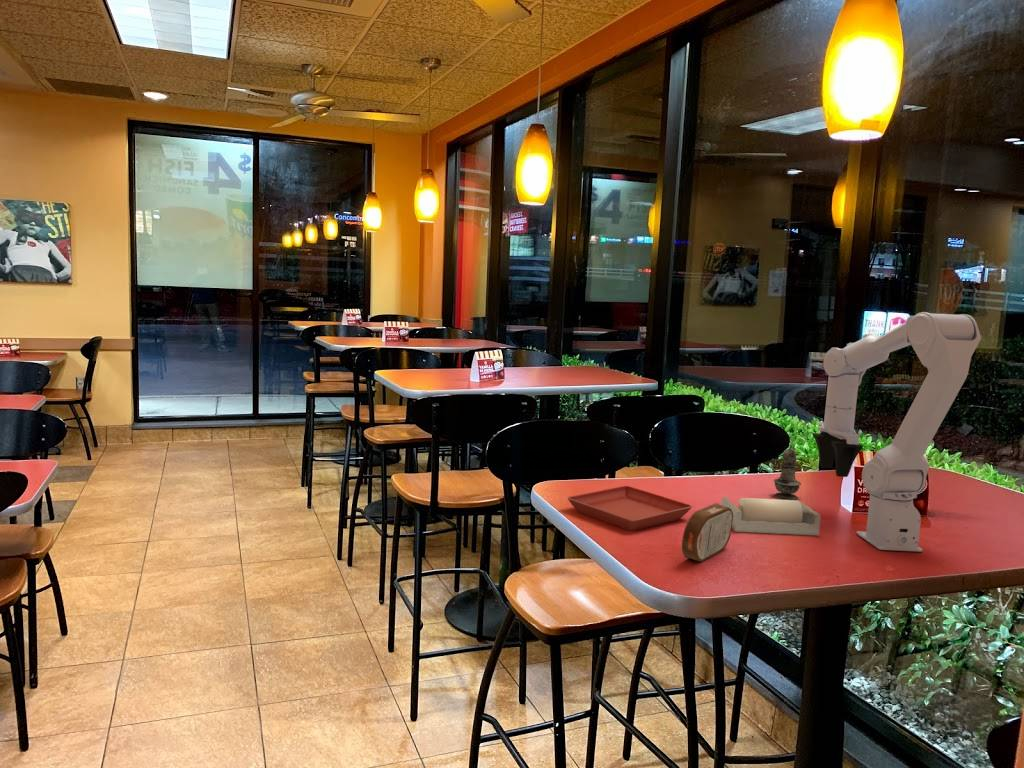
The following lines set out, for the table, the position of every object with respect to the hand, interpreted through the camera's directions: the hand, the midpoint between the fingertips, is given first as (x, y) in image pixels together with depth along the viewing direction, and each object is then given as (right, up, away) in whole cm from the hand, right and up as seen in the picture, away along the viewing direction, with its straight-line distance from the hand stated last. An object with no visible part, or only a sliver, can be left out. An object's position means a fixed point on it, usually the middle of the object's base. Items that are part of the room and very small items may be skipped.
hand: (833, 471), depth 159 cm
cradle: (-16, -10, -8) cm, 21 cm away
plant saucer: (-43, -9, -5) cm, 45 cm away
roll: (-16, -9, -8) cm, 21 cm away
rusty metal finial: (-5, -8, +15) cm, 17 cm away
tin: (-33, -11, -27) cm, 44 cm away
